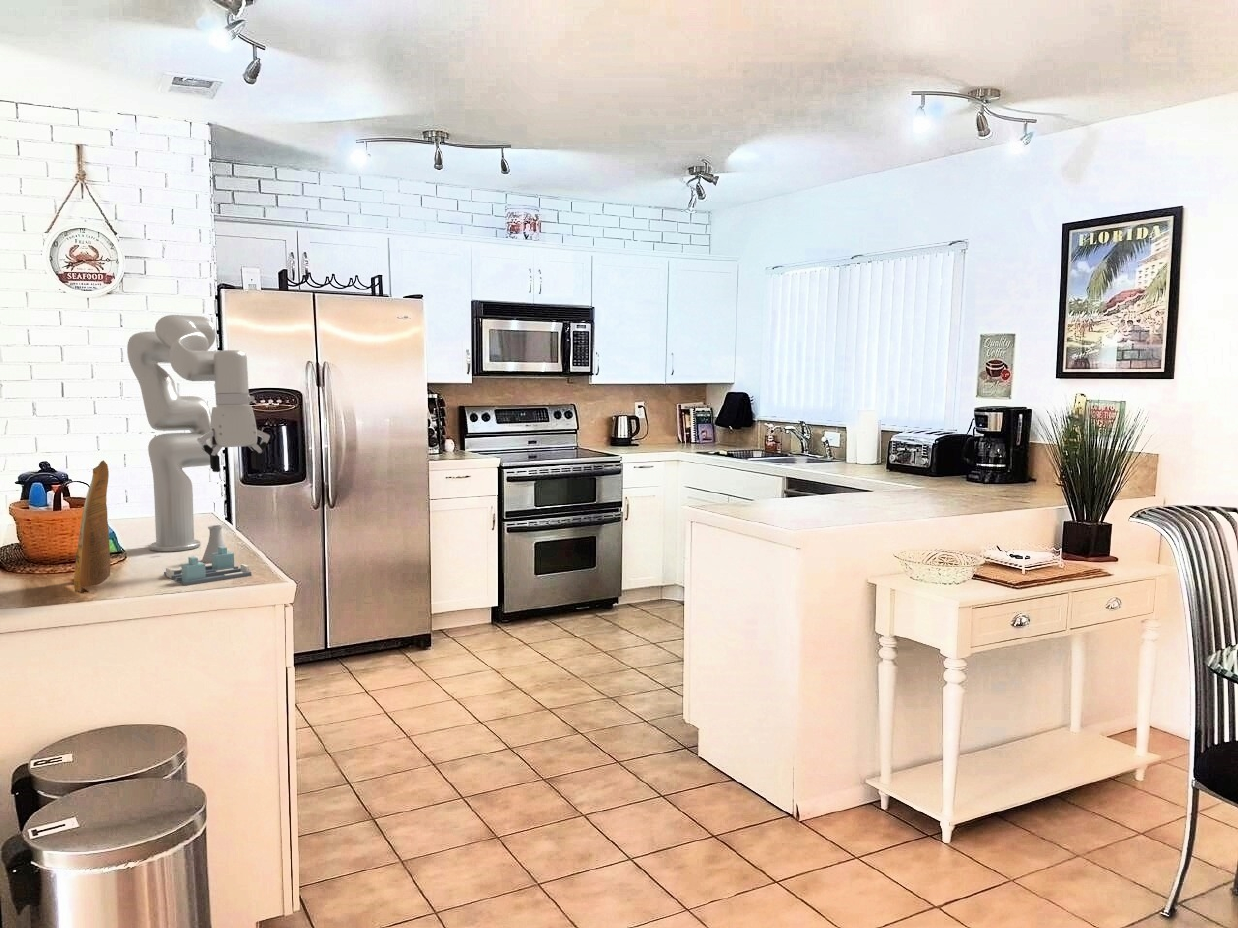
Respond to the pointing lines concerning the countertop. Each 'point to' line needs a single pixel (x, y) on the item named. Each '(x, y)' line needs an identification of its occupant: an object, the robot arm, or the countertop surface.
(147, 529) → the countertop surface
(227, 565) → the tab
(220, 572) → the switch bank
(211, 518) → the countertop surface
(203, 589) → the countertop surface
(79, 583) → the pancake mix bag
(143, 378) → the robot arm
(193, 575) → the tab
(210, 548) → the flask
